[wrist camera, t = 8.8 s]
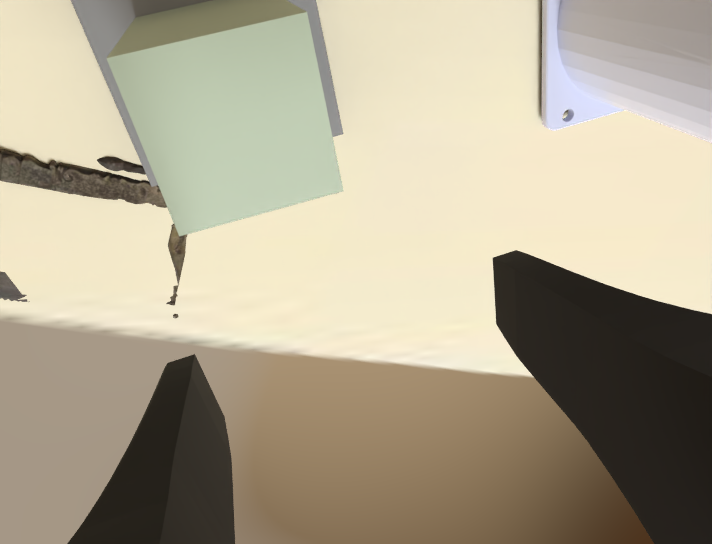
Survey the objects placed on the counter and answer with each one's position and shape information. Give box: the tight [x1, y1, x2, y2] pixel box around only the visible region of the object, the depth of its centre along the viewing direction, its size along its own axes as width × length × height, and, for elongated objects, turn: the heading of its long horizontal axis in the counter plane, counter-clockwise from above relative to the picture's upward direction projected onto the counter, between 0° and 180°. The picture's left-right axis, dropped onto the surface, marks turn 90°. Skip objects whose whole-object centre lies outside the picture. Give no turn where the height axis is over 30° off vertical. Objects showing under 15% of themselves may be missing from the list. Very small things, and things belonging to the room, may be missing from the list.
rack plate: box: [71, 0, 343, 187], centre depth 18 cm, size 7×6×1 cm
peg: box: [106, 0, 343, 236], centre depth 15 cm, size 4×4×7 cm
